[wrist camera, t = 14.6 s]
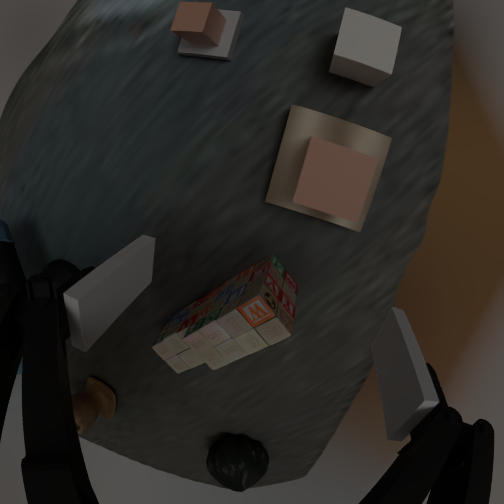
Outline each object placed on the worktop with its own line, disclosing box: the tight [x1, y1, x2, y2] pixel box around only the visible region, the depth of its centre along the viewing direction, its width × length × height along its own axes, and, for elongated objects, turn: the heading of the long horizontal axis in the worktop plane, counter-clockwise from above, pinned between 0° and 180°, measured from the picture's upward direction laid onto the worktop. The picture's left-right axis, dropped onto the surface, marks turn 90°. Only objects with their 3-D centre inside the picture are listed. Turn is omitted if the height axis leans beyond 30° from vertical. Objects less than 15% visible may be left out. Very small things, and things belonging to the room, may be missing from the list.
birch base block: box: [265, 105, 392, 232], centre depth 34 cm, size 12×12×4 cm
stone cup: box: [71, 377, 116, 434], centre depth 60 cm, size 15×12×15 cm
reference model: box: [171, 2, 244, 61], centre depth 28 cm, size 7×7×8 cm
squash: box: [206, 435, 269, 492], centre depth 57 cm, size 14×15×15 cm
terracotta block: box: [293, 136, 378, 223], centre depth 28 cm, size 6×6×9 cm
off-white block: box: [329, 8, 402, 87], centre depth 26 cm, size 6×6×9 cm
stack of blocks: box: [152, 254, 298, 374], centre depth 41 cm, size 21×6×12 cm, turn 128°
